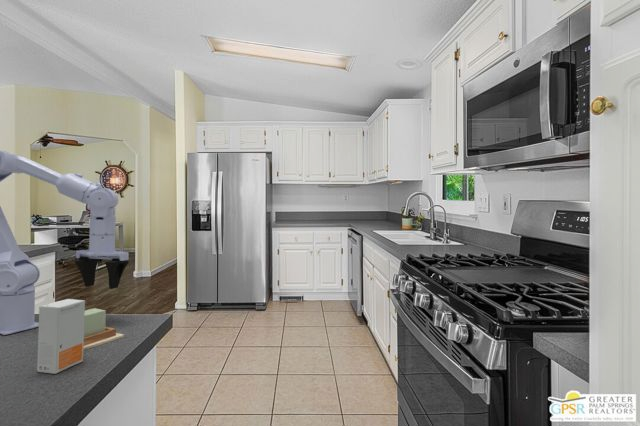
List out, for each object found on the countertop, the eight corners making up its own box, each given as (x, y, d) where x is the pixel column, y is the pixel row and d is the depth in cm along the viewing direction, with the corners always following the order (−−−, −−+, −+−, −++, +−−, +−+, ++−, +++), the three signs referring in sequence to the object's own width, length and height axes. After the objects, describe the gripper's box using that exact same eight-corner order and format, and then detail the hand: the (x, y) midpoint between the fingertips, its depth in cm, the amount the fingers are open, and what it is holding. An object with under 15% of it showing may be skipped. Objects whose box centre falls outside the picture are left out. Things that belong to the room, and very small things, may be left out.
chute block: (66, 342, 78) (67, 314, 78) (94, 334, 84) (94, 308, 84) (78, 345, 77) (78, 317, 77) (105, 336, 82) (105, 310, 82)
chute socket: (40, 346, 77) (41, 337, 77) (95, 330, 88) (96, 322, 88) (70, 355, 73) (70, 345, 73) (124, 336, 84) (124, 328, 84)
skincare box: (56, 375, 64) (57, 307, 64) (36, 372, 65) (37, 306, 65) (84, 361, 70) (86, 299, 70) (66, 359, 71) (67, 298, 71)
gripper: (65, 234, 91) (64, 288, 91) (113, 236, 87) (112, 292, 87) (89, 233, 98) (88, 282, 98) (135, 234, 94) (134, 286, 94)
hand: (101, 287), depth 93 cm, fingers open, 7 cm apart
